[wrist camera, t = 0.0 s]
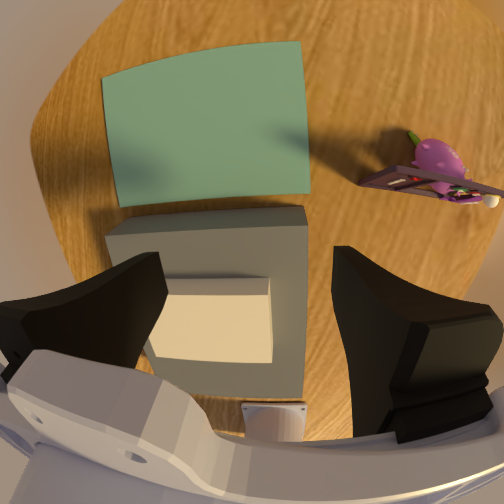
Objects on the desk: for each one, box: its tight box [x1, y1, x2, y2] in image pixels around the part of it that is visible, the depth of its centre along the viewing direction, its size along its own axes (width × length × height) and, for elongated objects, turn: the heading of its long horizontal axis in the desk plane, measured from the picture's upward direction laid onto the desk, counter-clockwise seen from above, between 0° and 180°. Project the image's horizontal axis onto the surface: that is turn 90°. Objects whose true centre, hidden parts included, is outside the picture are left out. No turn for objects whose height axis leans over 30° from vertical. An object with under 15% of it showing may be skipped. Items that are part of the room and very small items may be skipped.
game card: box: [359, 131, 504, 208], centre depth 15 cm, size 7×5×9 cm
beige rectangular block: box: [148, 278, 273, 363], centre depth 19 cm, size 6×9×2 cm, turn 95°
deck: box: [104, 206, 308, 398], centre depth 23 cm, size 17×14×4 cm
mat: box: [102, 41, 311, 207], centre depth 18 cm, size 11×15×1 cm
